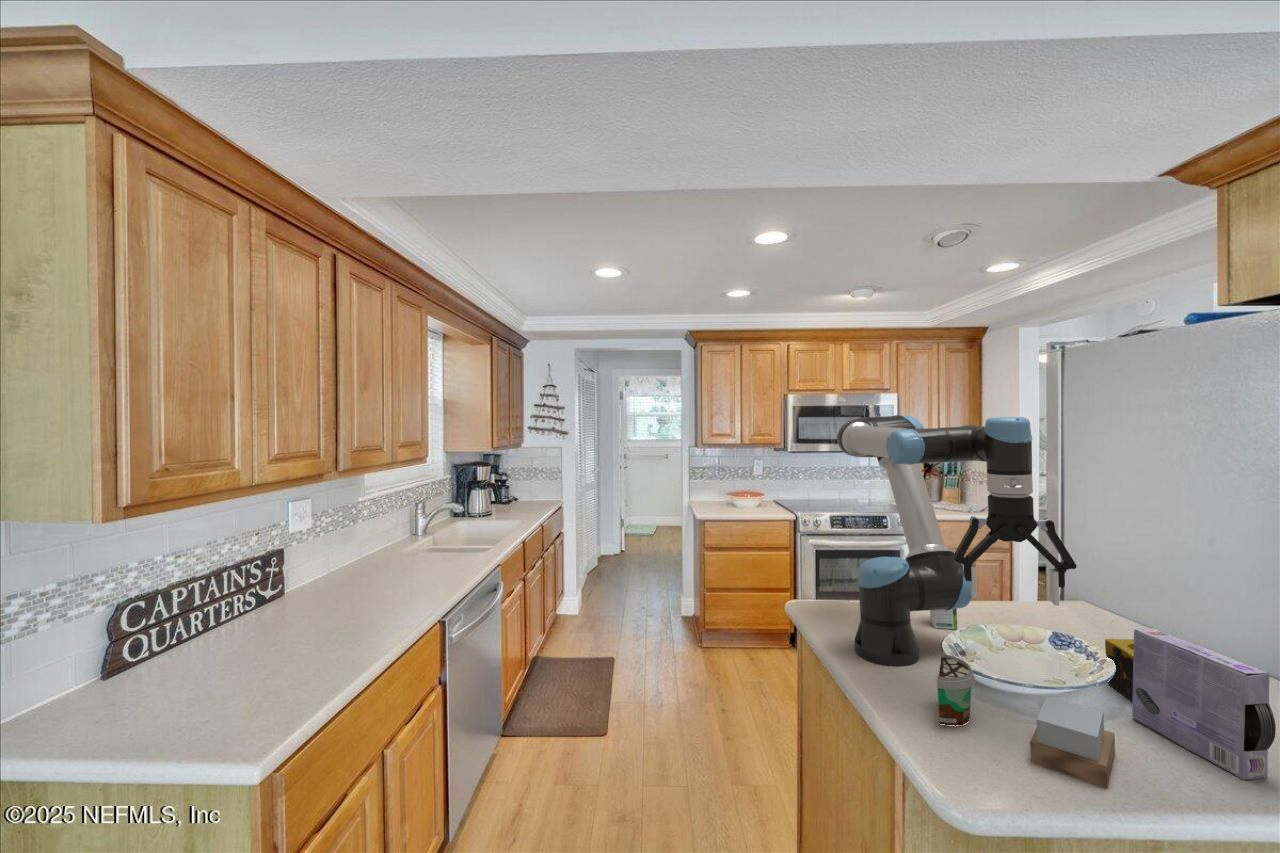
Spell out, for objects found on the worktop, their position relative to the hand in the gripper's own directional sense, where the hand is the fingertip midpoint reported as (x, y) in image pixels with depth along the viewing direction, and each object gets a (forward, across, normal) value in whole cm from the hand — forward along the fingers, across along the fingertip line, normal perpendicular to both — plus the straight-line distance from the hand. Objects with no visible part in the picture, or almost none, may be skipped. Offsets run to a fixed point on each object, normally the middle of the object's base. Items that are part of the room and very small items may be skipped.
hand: (1013, 600), depth 108 cm
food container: (+22, -11, -7) cm, 26 cm away
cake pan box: (+22, +26, -4) cm, 34 cm away
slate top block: (+19, +5, -15) cm, 24 cm away
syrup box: (+23, -9, +43) cm, 50 cm away
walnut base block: (+23, +5, -14) cm, 27 cm away
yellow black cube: (+23, +26, +14) cm, 37 cm away
